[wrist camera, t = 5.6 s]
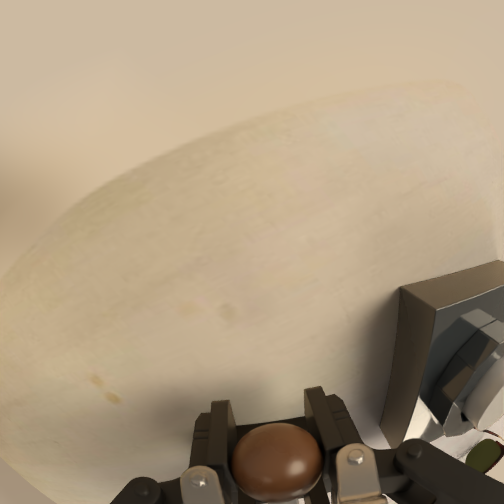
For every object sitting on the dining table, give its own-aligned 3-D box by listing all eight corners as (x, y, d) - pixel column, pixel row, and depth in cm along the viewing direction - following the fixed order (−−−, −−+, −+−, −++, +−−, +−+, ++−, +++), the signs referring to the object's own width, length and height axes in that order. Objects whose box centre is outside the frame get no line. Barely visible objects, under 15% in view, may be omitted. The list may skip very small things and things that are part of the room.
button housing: (400, 286, 13) (461, 327, 8) (498, 259, 13) (551, 280, 8) (379, 427, 15) (406, 476, 10) (469, 387, 15) (501, 419, 11)
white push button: (474, 371, 9) (494, 390, 7) (515, 345, 9) (534, 359, 8) (453, 424, 10) (467, 442, 8) (495, 397, 10) (509, 411, 8)
